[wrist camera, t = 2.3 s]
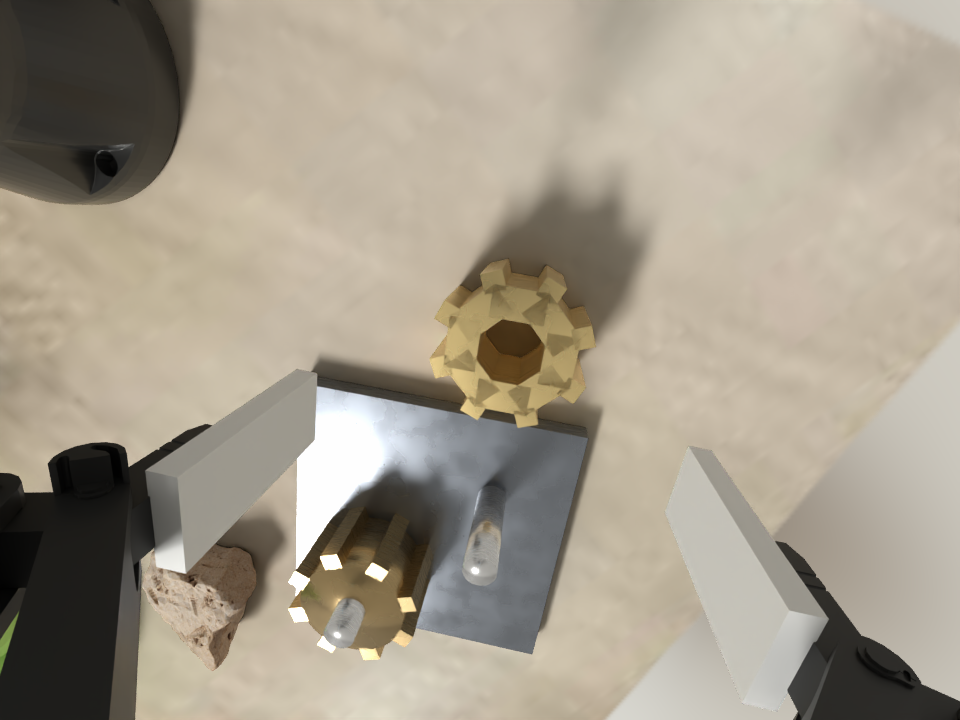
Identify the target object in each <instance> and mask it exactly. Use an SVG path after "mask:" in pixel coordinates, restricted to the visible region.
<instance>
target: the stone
mask: <svg viewBox="0 0 960 720" xmlns="http://www.w3.org/2000/svg"><path fill="white" fill-rule="evenodd" d="M256 584H257V583H256V571H255V569H254V568H253V563H252V558H251V556H250V554H249V553H248V552H245V551H243V550H242V549H240V548H236V547H233V548H225V547H220V546H219V545H216V544H214V545H213V546H212V547H211V548H210V549H209V550H208V551H207V552H206V553H205V555H204V556H203V557H202V558H201V559H200V560H199V561H198V562H197V563H196V564H195V565H194V566H193V567H192V568H191V569H190V570H189V571H188V572H187V573H186V574H185V573H180V572H176V571H172V570H167V569H163V568H159V567H156V560H155V551H153V552H152V553H151V562H150V565H149V567H148V569H147V571H146V573H145V576H144V580H143V585H142V589H144V590H145V592H146V596H147V599H148V601H149V603H150V604H151V605H152V606H153V608H154V610H155V611H156V612H158V613H159V614H160V615H161V616H162V619H163V620H164V621H165V622H166V623H168V624H171V627H172V629H173V630H174V631H176V633H177V634H178V635H179V637H180V639H181V640H182V641H183V642H185V643H186V645H187V646H189V647H190V649H191V651H192V652H193V653H195V654H196V655H197V656H198V657H199V659H201V660H202V661H203V662H204V663H205V665H206V667H207V668H208V669H210V670H212V671H214V670H215V669H217V668H218V667H219V665H221V663H222V662H223V661H224V659H225V658H226V656H227V654H228V652H229V647H230V644H231V642H232V640H233V637H234V634H235V632H236V630H237V626H238V623H239V621H240V620H241V618H242V617H243V614H244V611H245V607H246V602H247V600H248V598H249V597H250V596H251V595H252V592H253V590H254V588H255V587H256Z"/></svg>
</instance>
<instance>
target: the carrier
mask: <svg viewBox="0 0 960 720" xmlns="http://www.w3.org/2000/svg"><path fill="white" fill-rule="evenodd" d="M461 406H462V404H459V403H453V402H448V401H443V400H437V399H432V398H427V397H422V396H416V395H411V394H406V393H401V392H395V391H390V390H385V389H380V388H374V387H369V386H364V385H359V384H353V383H348V382H343V381H338V380H332V379H327V378H322V377H317V397H316V427H315V441H314V442H313V443H312V444H311V445H310V446H309V447H308V448H307V449H306V450H305V451H304V452H303V453H302V454H301V455H300V456H299V457H298V477H297V564H296V571H295V572H294V574H293V576H292V578H291V579H290V581H289V583H291V584H292V585H294V586H296V598H295V599H294V601H293V602H292V604H291V606H290V607H289V611H290V613H291V615H292V617H293V619H294V621H295V622H299V621H308V622H309V624H310V625H311V626H312V627H313V628H314V629H315V630H316V631H317V632H318V633H319V634H320V635H322V636H321V638H320V640H319V642H318V644H317V645H319V646H321V647H323V648H324V649H326V650H328V651H330V652H333V650H334V649H335V647H338V648H351V649H359V650H360V652H361V654H362V657H363V659H364V660H374V659H380V657H381V654H382V651H383V648H384V645H386V644H388V643H390V642H391V641H392V640H393V641H394V642H396V643H398V644H400V645H402V646H403V647H406V645H407V644H408V643H409V642H410V640H411V639H412V638H413V635H414V632H415V629H416V628H419V629H423V630H427V631H432V632H436V633H441V634H445V635H449V636H454V637H458V638H462V639H467V640H471V641H476V642H480V643H484V644H489V645H493V646H498V647H502V648H506V649H511V650H515V651H520V652H524V653H528V654H532V653H533V649H534V646H535V642H536V638H537V634H538V630H539V626H540V622H541V619H542V615H543V611H544V607H545V603H546V599H547V595H548V592H549V588H550V584H551V580H552V576H553V572H554V568H555V565H556V561H557V557H558V553H559V549H560V545H561V542H562V538H563V534H564V530H565V526H566V522H567V518H568V515H569V511H570V507H571V503H572V499H573V495H574V491H575V488H576V484H577V480H578V476H579V472H580V468H581V464H582V461H583V457H584V453H585V449H586V445H587V441H588V434H587V429H586V428H585V427H579V426H574V425H569V424H564V423H558V422H553V421H548V420H543V419H538V425H533V426H527V427H521V428H518V427H517V423H516V419H515V415H514V414H511V413H505V412H500V411H495V410H490V409H485V410H484V412H483V413H482V415H481V416H480V418H479V419H478V420H476V419H475V418H473V417H471V416H470V415H468V414H466V413H465V412H463V411H461V410H460V409H461Z"/></svg>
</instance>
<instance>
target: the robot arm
mask: <svg viewBox="0 0 960 720" xmlns="http://www.w3.org/2000/svg"><path fill="white" fill-rule="evenodd" d="M178 116H179V90H178V80H177V74H176V68H175V64H174V59H173V56H172V52H171V48H170V45H169V42H168V40H167V37H166V34H165V32H164V29H163V27H162V24H161V22H160V20H159V18H158V16H157V14H156V12H155V10H154V8H153V6H152V5H151V3H150V1H149V0H0V188H2V189H6V190H9V191H12V192H15V193H18V194H22V195H25V196H28V197H31V198H34V199H38V200H42V201H46V202H52V203H59V204H82V205H99V204H110V203H115V202H119V201H122V200H125V199H128V198H130V197H132V196H134V195H136V194H137V193H139V192H140V191H142V190H143V189H144V188H146V187H147V186H148V185H149V184H150V183H151V182H152V181H153V180H154V179H155V178H156V176H157V175H158V174H159V172H160V171H161V169H162V168H163V166H164V165H165V163H166V161H167V159H168V157H169V154H170V152H171V149H172V146H173V143H174V140H175V135H176V131H177V125H178ZM316 397H317V373H314V372H309V371H304V370H299V369H296V370H295V371H293V372H292V373H290V374H289V375H287V376H286V377H284V378H283V379H281V380H280V381H278V382H277V383H275V384H274V385H272V386H271V387H269V388H268V389H266V390H265V391H263V392H262V393H260V394H259V395H257V396H256V397H254V398H253V399H251V400H250V401H248V402H247V403H246V404H244V405H243V406H241V407H240V408H238V409H237V410H235V411H234V412H232V413H231V414H229V415H228V416H226V417H225V418H223V419H222V420H220V421H219V422H217V423H216V424H214V425H208V424H204V425H201V426H199V427H196V428H193V429H190V430H187V431H185V432H184V433H182V434H181V435H179V436H177V437H176V438H174V439H173V440H172V441H171V442H168V443H166V444H165V445H163V446H162V447H160V449H159V450H155V451H154V452H152V453H150V454H149V455H147V456H146V457H144V458H143V459H141V460H139V461H138V462H136V463H135V464H133V465H132V466H130V467H128V460H127V453H126V450H125V448H124V447H123V446H121V445H119V444H115V443H108V442H101V443H90V444H85V445H80V446H76V447H73V448H70V449H67V450H65V451H63V452H61V453H59V454H58V455H56V456H54V457H53V458H52V459H51V460H50V462H49V463H48V467H49V472H50V477H51V482H52V487H53V492H43V493H24V490H23V486H22V482H21V480H20V478H19V476H16V475H13V474H10V473H0V639H1V638H2V636H3V635H4V633H5V632H6V630H7V629H8V627H9V626H10V624H11V623H12V621H13V620H14V618H15V617H16V615H17V614H18V612H19V614H18V617H17V621H16V624H15V627H14V630H13V634H12V637H11V640H10V644H9V647H8V650H7V654H6V657H5V660H4V663H3V667H2V670H1V673H0V720H135V710H136V687H137V665H138V643H139V621H140V599H141V577H142V568H141V559H142V558H143V557H144V556H145V555H146V554H147V553H149V552H150V551H151V550H152V549H153V548H154V551H155V560H156V567H159V568H163V569H167V570H172V571H176V572H180V573H185V574H186V573H187V572H188V571H189V570H190V569H191V568H192V567H193V566H194V565H195V564H196V563H197V562H198V561H199V560H200V559H201V558H202V557H203V556H204V555H205V553H206V552H207V551H208V550H209V549H210V548H211V547H212V546H213V545H214V544H215V543H216V542H217V541H218V540H219V539H220V538H221V537H222V536H223V535H224V534H225V533H226V532H227V531H228V530H229V529H230V528H231V527H232V526H233V525H234V523H235V522H236V521H237V520H238V519H239V518H240V517H241V516H242V515H243V514H244V513H245V512H246V511H247V510H248V509H249V508H250V507H251V506H252V505H253V504H254V503H255V502H256V501H257V500H258V499H259V498H260V497H261V496H262V495H263V493H264V492H265V491H266V490H267V489H268V488H269V487H270V486H271V485H272V484H273V483H274V482H275V481H276V480H277V479H278V478H279V477H280V476H281V475H282V474H283V473H284V472H285V471H286V470H287V469H288V468H289V467H290V466H291V465H292V463H293V462H294V461H295V460H296V459H297V458H298V457H299V456H300V455H301V454H302V453H303V452H304V451H305V450H306V449H307V448H308V447H309V446H310V445H311V444H312V443H313V442H314V441H315V427H316ZM665 514H666V516H667V519H668V521H669V524H670V526H671V529H672V531H673V534H674V536H675V539H676V541H677V544H678V546H679V549H680V551H681V554H682V556H683V559H684V561H685V564H686V566H687V569H688V571H689V574H690V576H691V579H692V581H693V584H694V586H695V589H696V591H697V594H698V596H699V598H700V601H701V603H702V606H703V608H704V611H705V613H706V616H707V618H708V621H709V623H710V626H711V628H712V631H713V633H714V636H715V638H716V641H717V643H718V646H719V648H720V651H721V653H722V656H723V658H724V661H725V663H726V666H727V668H728V671H729V673H730V676H731V678H732V680H733V683H734V685H735V688H736V690H737V693H738V695H739V698H740V700H741V703H742V704H747V705H751V706H755V707H759V708H764V709H768V710H773V711H776V712H777V711H778V710H779V708H780V706H781V704H782V703H783V701H784V699H785V697H786V695H787V693H789V695H790V697H791V699H792V701H793V702H794V704H795V706H796V708H797V710H798V713H797V714H796V716H795V718H794V719H793V720H960V701H958V700H956V699H954V698H951V697H949V696H947V695H945V694H942V693H940V692H938V691H935V690H933V689H931V688H929V687H927V686H924V685H922V684H921V681H920V680H919V678H918V677H917V675H916V674H915V673H914V671H913V670H912V669H911V668H910V666H908V665H907V664H906V663H905V662H904V661H903V660H902V659H901V658H900V657H899V656H898V655H896V654H894V653H893V652H892V651H891V650H889V649H887V648H886V647H885V646H883V645H882V644H880V643H878V642H876V641H874V640H872V639H870V638H867V637H864V636H861V635H860V633H859V632H858V631H857V629H856V628H855V627H854V625H853V624H852V622H851V621H850V620H849V618H848V617H847V616H846V614H845V613H844V612H843V610H842V609H841V608H840V606H839V605H838V604H837V602H836V601H835V600H834V598H833V597H832V596H831V594H830V593H829V592H828V591H826V588H825V586H824V585H823V584H822V582H821V581H820V580H819V578H816V574H815V573H814V571H813V570H812V569H811V567H810V566H809V565H808V563H807V562H806V561H805V559H804V558H803V557H801V556H800V555H799V554H798V553H796V551H794V550H793V549H792V548H791V547H789V545H787V544H786V543H783V542H777V541H774V540H773V538H772V537H771V535H770V534H769V532H768V531H767V529H766V528H765V527H764V525H763V524H762V522H761V521H760V519H759V518H758V517H757V515H756V514H755V512H754V511H753V509H752V508H751V506H750V505H749V504H748V502H747V501H746V499H745V498H744V496H743V495H742V493H741V492H740V491H739V489H738V488H737V486H736V485H735V483H734V482H733V481H732V479H731V478H730V476H729V475H728V473H727V472H726V470H725V469H724V468H723V466H722V465H721V463H720V462H719V460H718V459H717V458H716V456H715V455H714V453H713V452H712V450H707V449H702V448H697V447H692V446H688V448H687V451H686V454H685V457H684V460H683V463H682V465H681V468H680V471H679V474H678V477H677V479H676V482H675V485H674V488H673V491H672V494H671V496H670V499H669V502H668V505H667V508H666V511H665Z"/></svg>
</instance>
